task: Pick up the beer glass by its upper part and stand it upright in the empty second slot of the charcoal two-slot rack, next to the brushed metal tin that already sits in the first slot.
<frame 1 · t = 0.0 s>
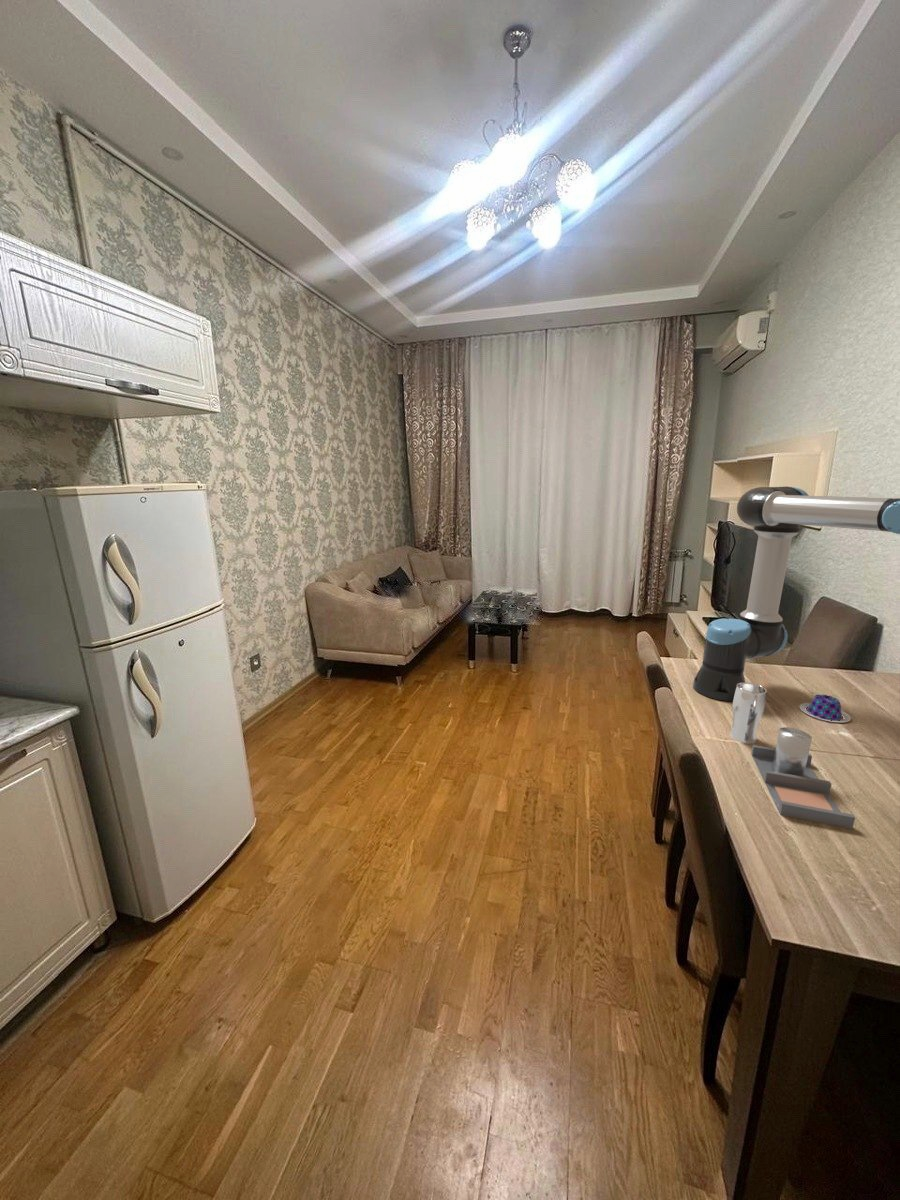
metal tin: (787, 772, 108), point 1 cm above the table, touching slot rack
beer glass: (742, 740, 123), on the table
slot rack: (794, 789, 103), on the table
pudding: (823, 715, 138), on the table
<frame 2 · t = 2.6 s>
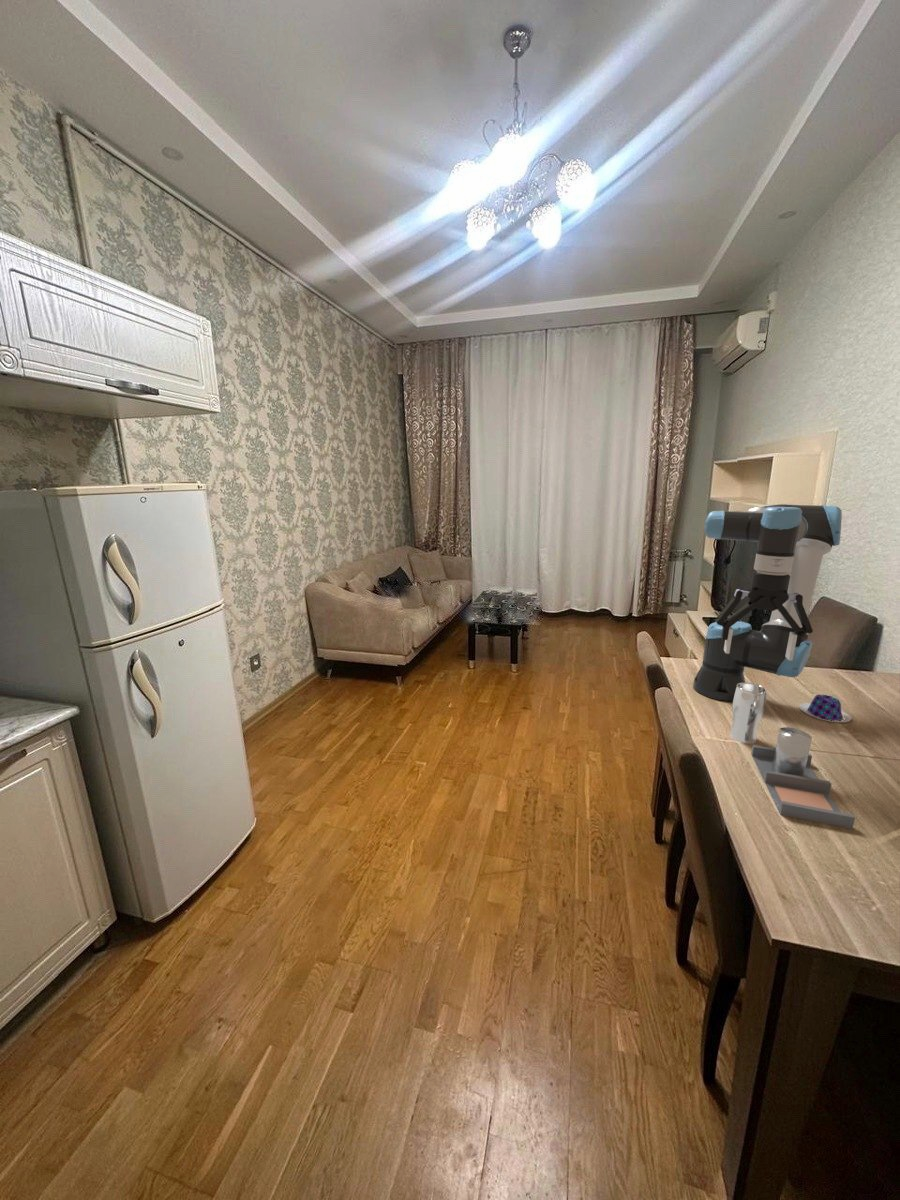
hand: (756, 655, 117), 24 cm above the table, tool pointing down, fingers open, 13 cm apart
nothing on the table moved.
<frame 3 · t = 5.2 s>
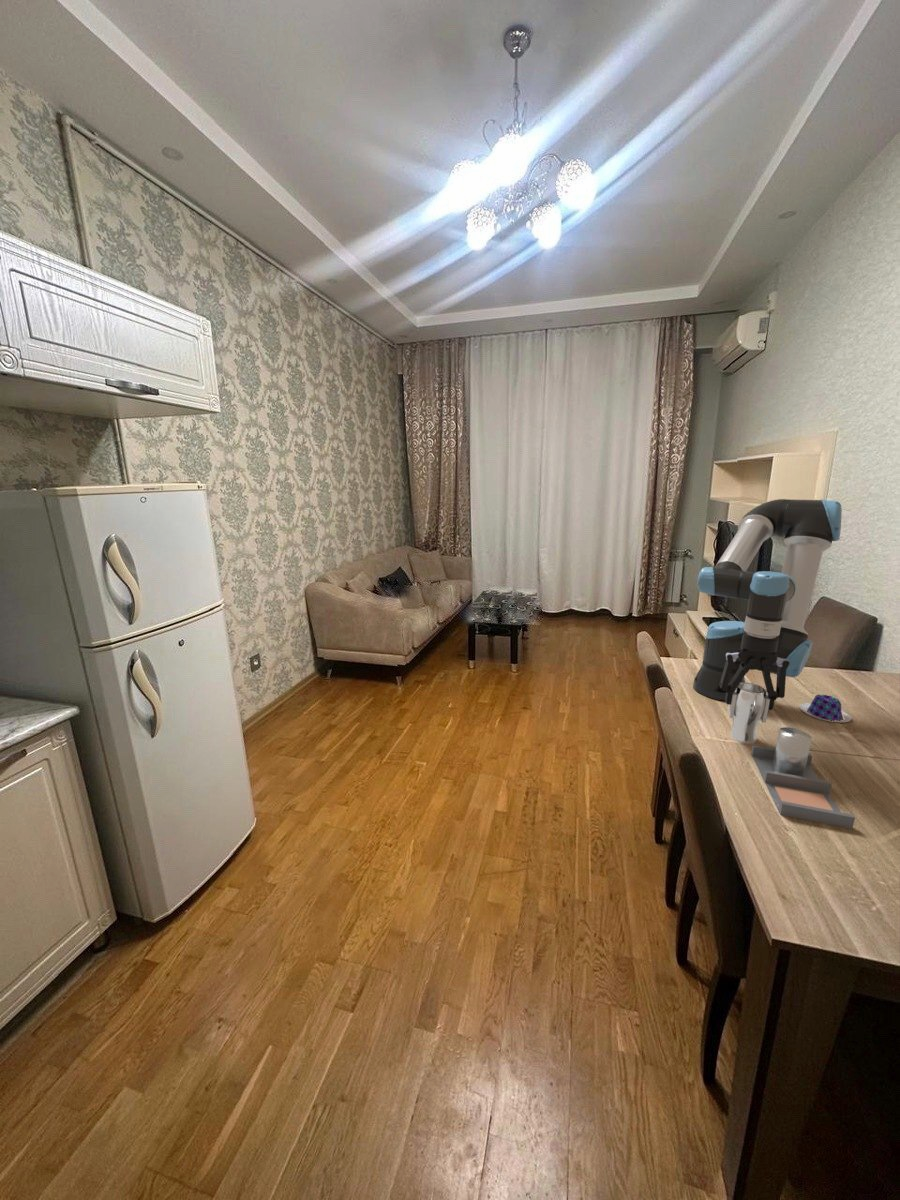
hand: (746, 717, 122), 7 cm above the table, tool pointing down, fingers closed on beer glass, 7 cm apart
beer glass: (742, 740, 123), on the table, touching gripper
everything else where it was.
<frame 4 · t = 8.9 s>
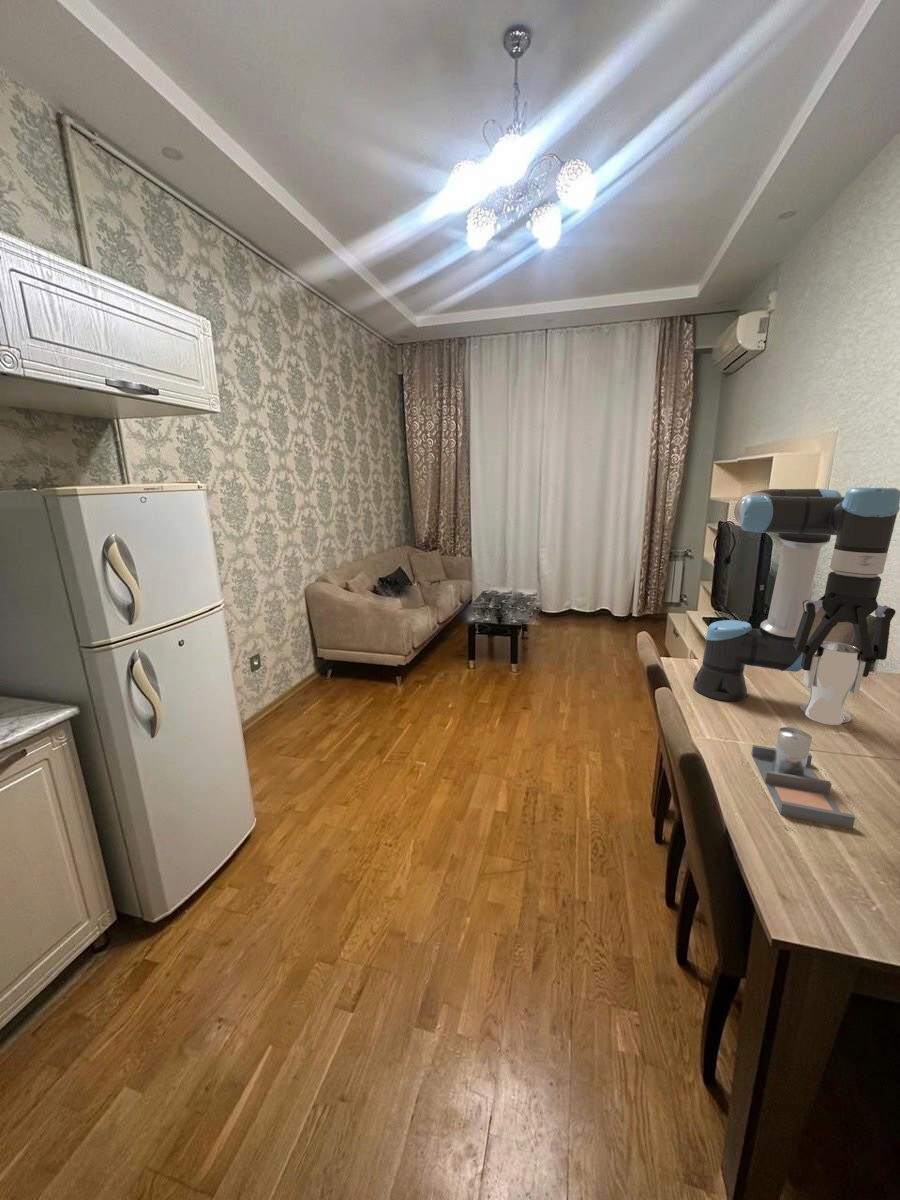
hand: (829, 687, 92), 27 cm above the table, tool pointing down, fingers closed on beer glass, 7 cm apart
beer glass: (823, 718, 93), point 20 cm above the table, touching gripper
everything else where it was.
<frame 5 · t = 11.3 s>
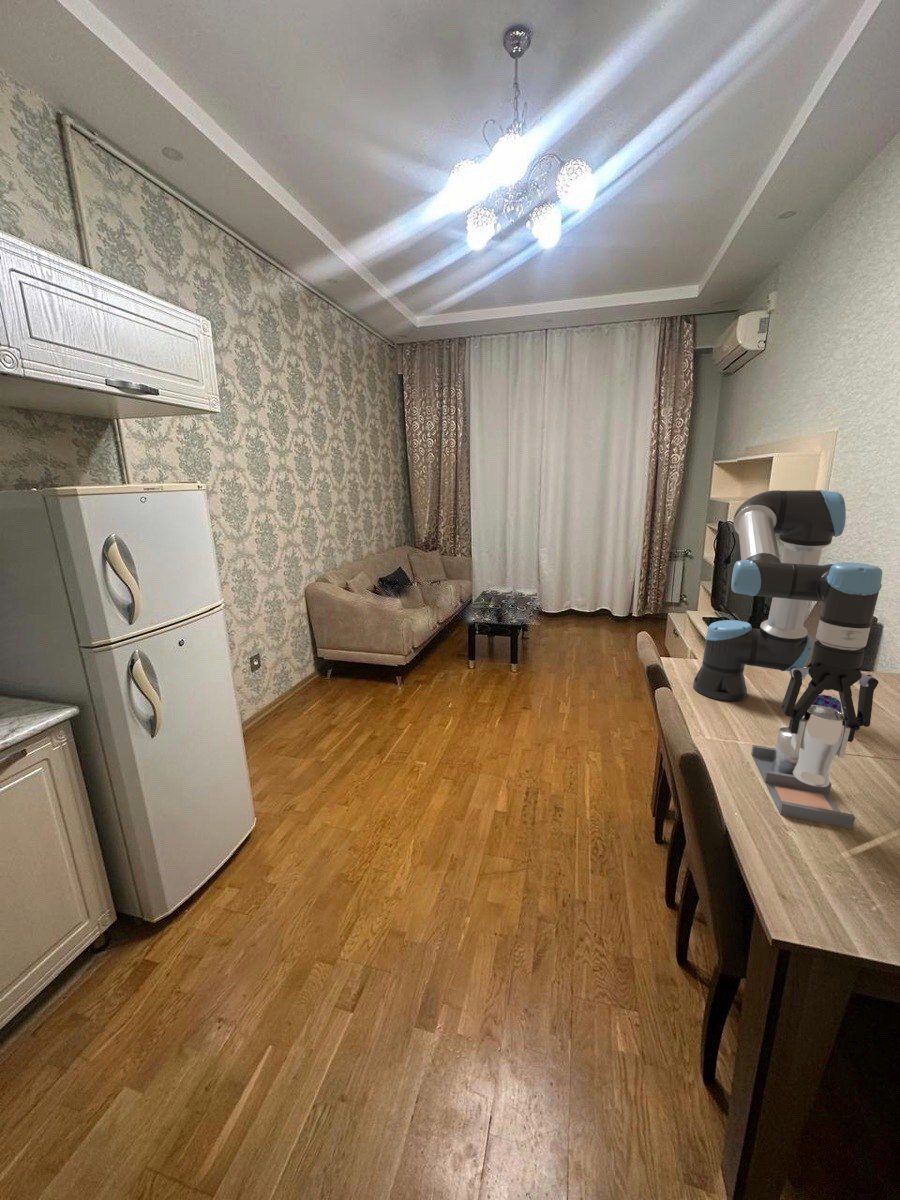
hand: (816, 750, 95), 13 cm above the table, tool pointing down, fingers closed on beer glass, 7 cm apart
beer glass: (810, 779, 97), point 7 cm above the table, touching gripper
everything else where it was.
when the fingers open (8 cm above the table, at t = 13.1 s): beer glass stays where it is, resting on slot rack.
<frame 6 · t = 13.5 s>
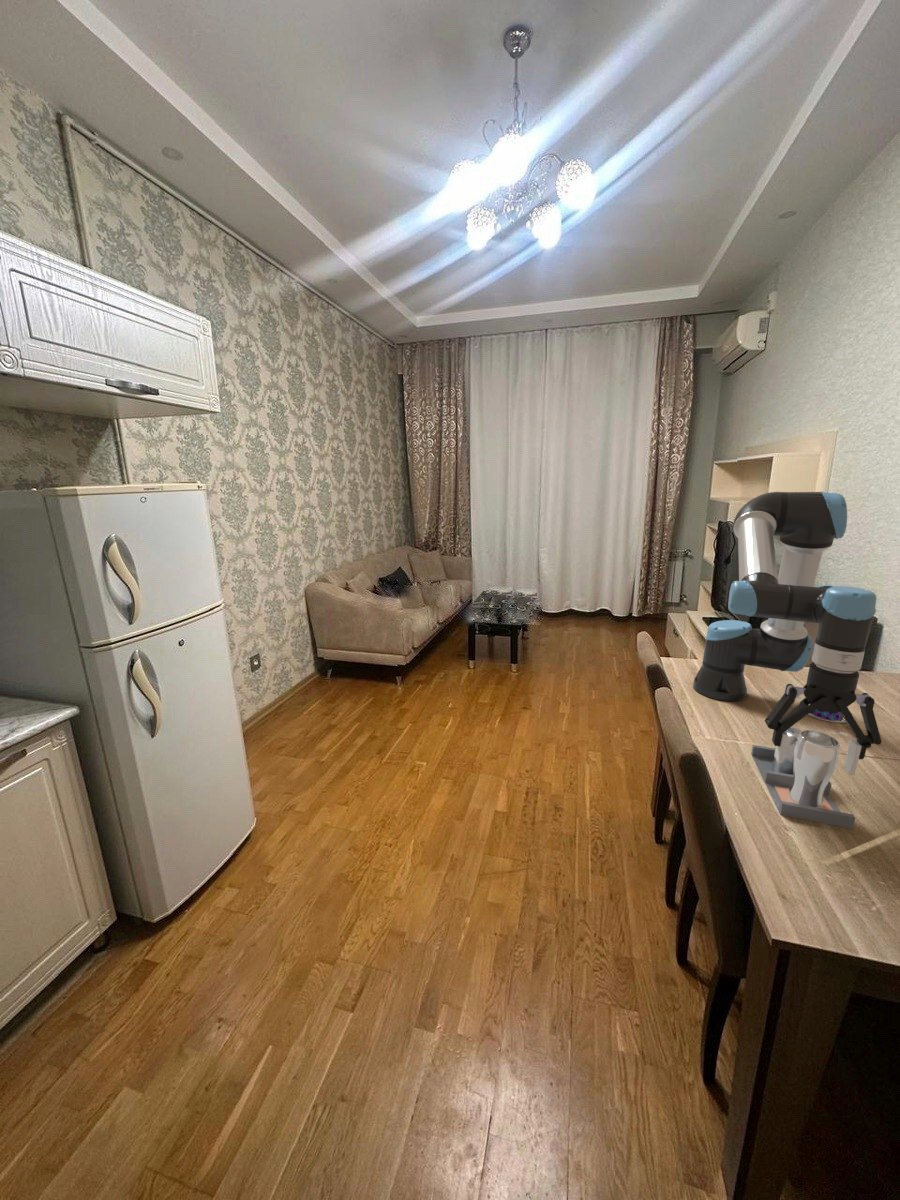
hand: (812, 765, 96), 10 cm above the table, tool pointing down, fingers open, 11 cm apart
beer glass: (804, 802, 98), point 1 cm above the table, touching slot rack
everything else where it was.
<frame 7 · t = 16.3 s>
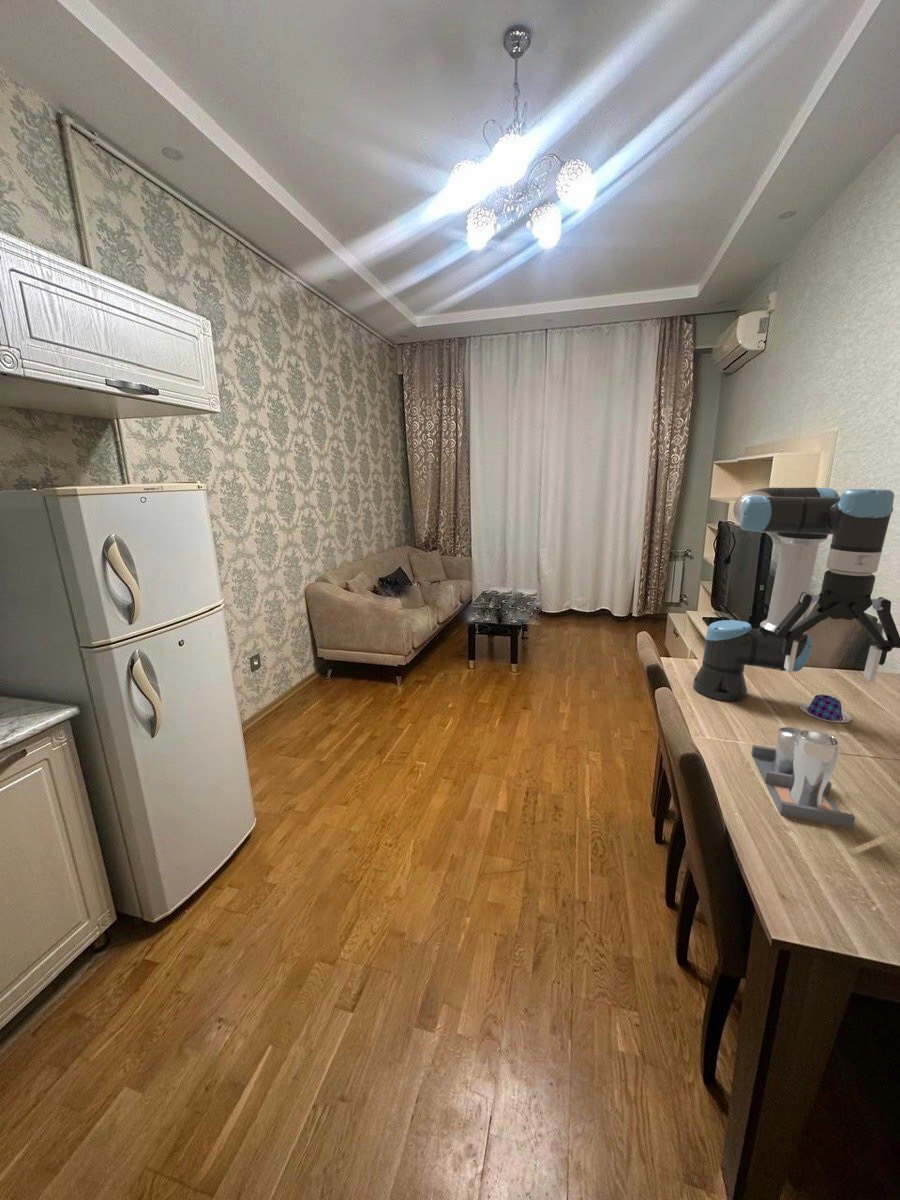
hand: (827, 674, 95), 28 cm above the table, tool pointing down, fingers open, 13 cm apart
nothing on the table moved.
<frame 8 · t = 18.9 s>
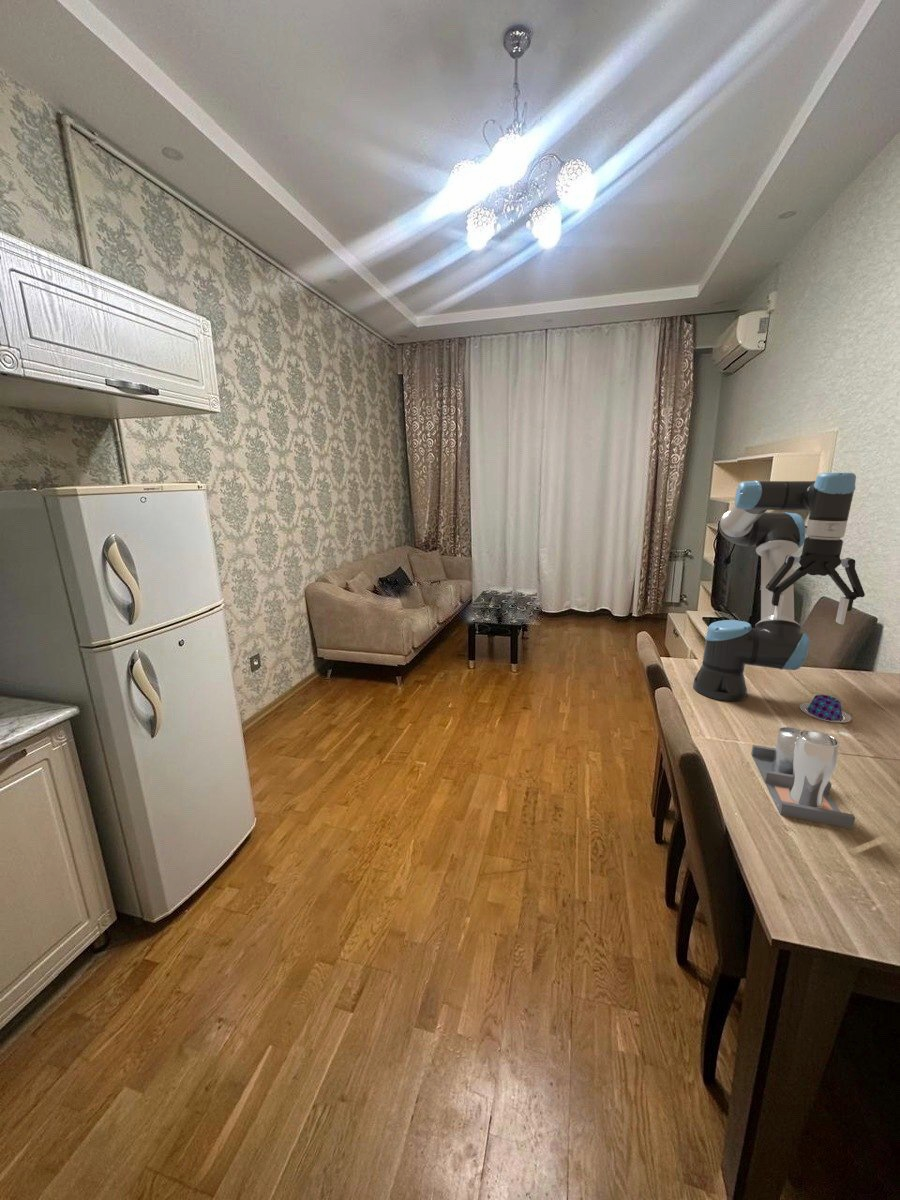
hand: (807, 620, 120), 32 cm above the table, tool pointing down, fingers open, 13 cm apart
at the end: beer glass 0.2 cm from the target spot on the slot rack, point 0.8 cm above the slot rack's base; beer glass tilted 0°; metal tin moved 0.0 cm from its start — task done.
